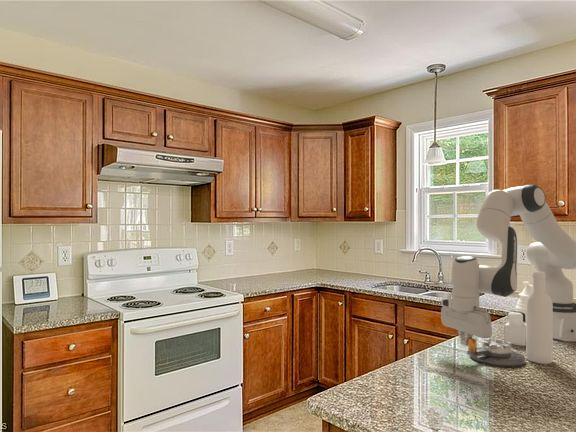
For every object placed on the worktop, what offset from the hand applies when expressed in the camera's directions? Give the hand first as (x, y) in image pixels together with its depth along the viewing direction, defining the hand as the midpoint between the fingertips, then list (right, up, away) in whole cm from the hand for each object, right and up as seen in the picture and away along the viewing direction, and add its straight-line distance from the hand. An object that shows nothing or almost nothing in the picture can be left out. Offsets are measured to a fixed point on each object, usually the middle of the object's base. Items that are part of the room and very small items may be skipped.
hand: (465, 344), depth 146 cm
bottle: (+25, -6, 0) cm, 26 cm away
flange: (+11, -5, +1) cm, 12 cm away
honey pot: (+58, -6, +63) cm, 85 cm away
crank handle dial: (+8, -3, 0) cm, 8 cm away
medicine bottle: (+29, -6, +21) cm, 36 cm away
